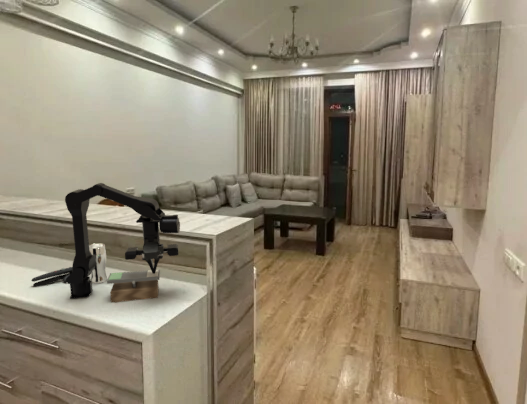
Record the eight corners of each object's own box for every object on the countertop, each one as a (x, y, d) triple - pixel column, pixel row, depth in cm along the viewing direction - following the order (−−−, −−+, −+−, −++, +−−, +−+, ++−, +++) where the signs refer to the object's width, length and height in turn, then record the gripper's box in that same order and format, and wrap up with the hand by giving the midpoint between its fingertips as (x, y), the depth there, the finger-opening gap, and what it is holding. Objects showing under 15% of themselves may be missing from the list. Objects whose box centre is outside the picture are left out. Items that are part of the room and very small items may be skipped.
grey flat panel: (107, 285, 127) (106, 280, 127) (110, 278, 134) (110, 272, 133) (159, 281, 132) (159, 276, 131) (160, 274, 138) (159, 269, 138)
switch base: (111, 302, 128) (109, 288, 127) (115, 291, 136) (113, 278, 135) (157, 297, 132) (156, 283, 130) (158, 287, 140) (157, 273, 139)
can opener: (82, 275, 152) (80, 262, 151) (82, 281, 146) (81, 268, 145) (33, 283, 144) (31, 270, 143) (31, 290, 138) (29, 276, 137)
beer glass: (101, 284, 142) (97, 249, 139) (86, 283, 144) (82, 248, 141) (112, 277, 149) (108, 243, 146) (97, 276, 150) (93, 242, 147)
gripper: (121, 242, 121) (125, 284, 124) (177, 237, 125) (179, 279, 129) (125, 233, 132) (128, 272, 135) (177, 229, 136) (179, 267, 139)
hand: (154, 273), depth 134 cm, fingers closed, pressing on grey flat panel
